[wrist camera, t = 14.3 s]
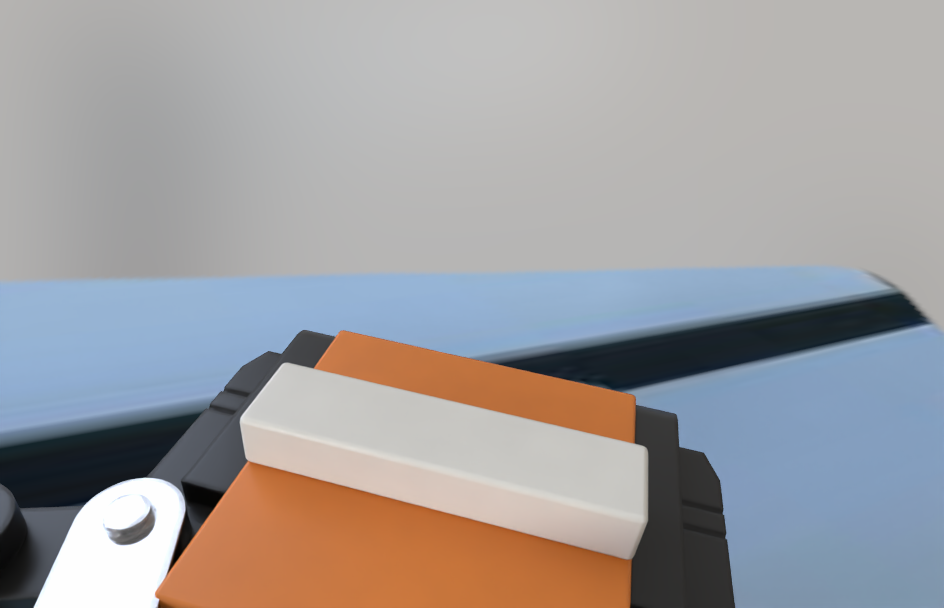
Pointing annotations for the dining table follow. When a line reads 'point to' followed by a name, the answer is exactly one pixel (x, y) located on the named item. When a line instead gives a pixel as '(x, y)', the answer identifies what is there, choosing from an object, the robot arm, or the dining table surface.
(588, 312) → the dining table surface
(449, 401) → the carton
